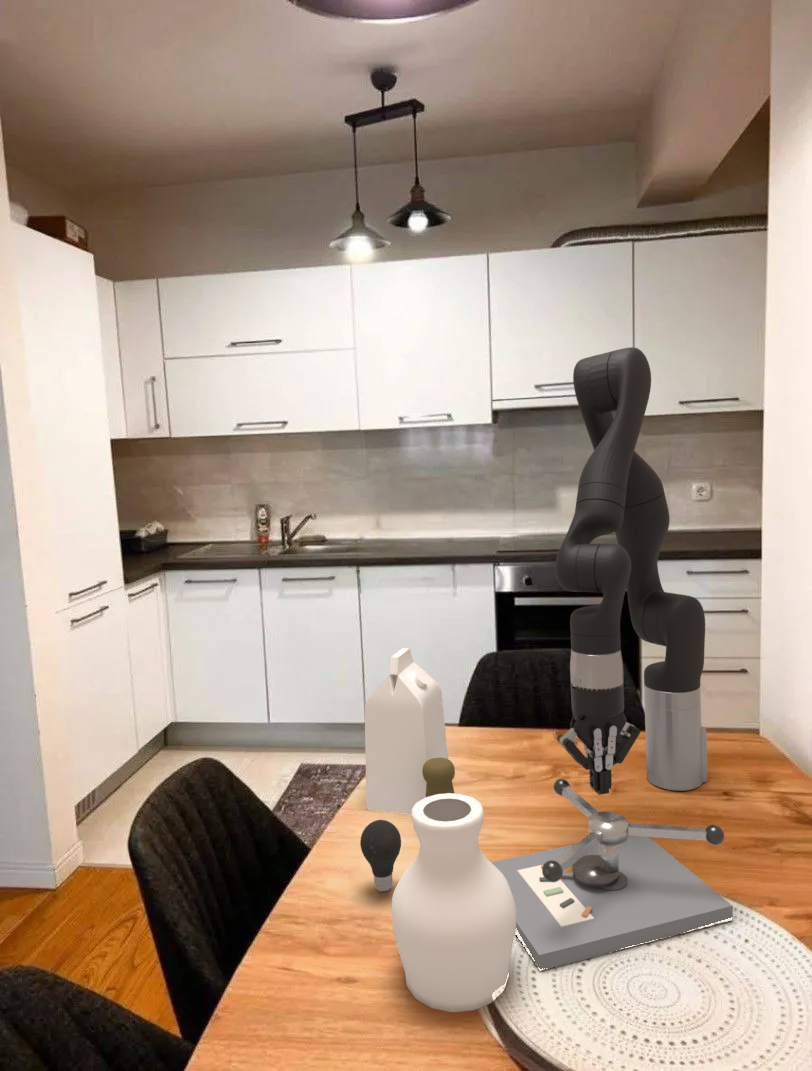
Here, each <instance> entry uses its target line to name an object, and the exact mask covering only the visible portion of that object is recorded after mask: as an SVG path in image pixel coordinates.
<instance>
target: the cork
mask: <svg viewBox="0 0 812 1071" xmlns="http://www.w3.org/2000/svg"><path fill="white" fill-rule="evenodd" d="M455 770H456V768H455V765H454V763H453V762H452V761H451V760H450V759H449V758H448V759H446V758H432V759H430V760H428V761H426V762H425V764H424V765H423V769H422V773H423V777H424V779H425V781H426V782H427V783H426V797H429V796H433V795H436V794H447V793H453V794H455V790H454V784H453V780H454V778H455V773H456V771H455Z"/></svg>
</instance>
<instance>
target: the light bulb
mask: <svg viewBox="0 0 812 1071" xmlns="http://www.w3.org/2000/svg"><path fill="white" fill-rule="evenodd" d="M359 842H360V849H361V850H360V851H361V852H362V855H363V857H364V858H365V859H366V861H367V862H368V864H369V865H370V868H371V872H372V875H373V877H374V878H373V881H374V886H375V889H376V890H378V891H380V892H381V893H385V894H386V893H388V892H389V890H390V889H391V888H393V880H394V879H393V872H394V865H395V862H396V860H397V858H398V857H399V854H400V851H401V847H402V838H401V834H400V831H399V829H398V828H397V827H396V826H395V824H394V823H392V822H390V821H388V820H386V819H376V820H373V821H372V822H369V824H367V825H366V827H365V828H364V829H363V830H362V833H361V836H360V841H359Z"/></svg>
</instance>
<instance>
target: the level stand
mask: <svg viewBox="0 0 812 1071" xmlns="http://www.w3.org/2000/svg"><path fill="white" fill-rule="evenodd" d="M576 844H577V843H575V844H569V845H566V846H560V847H555V848H552V849H551V848H550V849H546V850H542V851H537V852H532V853H529V854H523V855H518V856H514V857H510V858H505V859H504V858H503V859H501V860H500V859H499V860H495V861H490V862H491V863H492V864H493V865H494V866H495V867H496V868H497V869H498V870H499V871H500V872H501V873H502V874H503V875H504V877H505V878H506V880H507V882H508V884H509V887H510V890H511V893H512V896H513V899H514V901H515V906H516V917H517V919H516V928H517V930H518V932H519V934H520V936H521V937H522V939H523V941H524V943H525V944H526V946H527V948H528V949H529V951H530V953H531V954H532V957H533V958H534V960H535V962H536V964H537V965H538V967H539V968H540V969H542V968H543V969H544V968H545V969H546V968H551V969H554V968H553V967H555V968H558V967H562V966H565V965H569V964H573V963H577V962H582V961H585V960H588V959H589V960H590V959H592V958H597V957H599V956H605V955H607V954H606V953H608V954H611V953H610V952H612V953H615V952H614V951H616V950H619V949H621V948H625V947H628V946H632V945H637V944H640V943H645V942H649V941H652V940H656V939H660V938H665V937H669V936H673V937H675V936H674V935H677V934H680V933H683V932H687V931H689V930H692V929H695V928H698V927H701V926H705V925H709V924H711V923H715V922H718V921H721V920H725V919H728V918H731V917H733V916H734V914H733V912H734V911H733V904H731V903H730V902H729V901H727V900H726V899H725V898H724V897H723V896H721V895H720V894H719V893H718V892H717V891H716V890H714V889H713V888H712V887H711V886H710V885H708V884H707V883H705V882H704V881H703V880H702V879H701V878H700V877H698V876H697V875H696V874H695V873H694V872H693V871H691V870H690V869H689V868H687V867H686V866H685V865H683V864H682V862H680V861H679V860H678V859H677V858H675V857H674V856H673V855H672V854H670V853H669V852H668V851H666V849H664V848H663V847H662V846H661V845H659V844H658V843H657V842H656V841H654V840H653V839H652V837H645V836H630V835H628V839H627V841H625V842H624V843H622V844H618V854H619V880H618V881H617V882H616V883H615V884H613V885H611V886H607V887H591V886H587V885H584V884H582V883H580V882H578V881H577V880H576V879H575V878H574V876H573V873H568V872H563V874H562V877H561V879H560V880H559V881H557V882H549V881H547V880H546V879H545V878H544V876H543V873H542V867H543V865H544V863H546V862H547V861H550V860H554V861H555V860H556V859H557V858H558V857H560V856H561V855H562V854H564V853H565V852H566V851H568V850H569V849H570V848H572V847H573V846H574V845H576ZM586 855H599V856H600V849H599V844H598V845H597V846H595V847H594V848H593V849H591V850H590V851H589V852H588V853H586V854H585V855H584V856H586ZM677 936H678V935H677ZM669 938H670V937H669ZM616 952H617V951H616Z"/></svg>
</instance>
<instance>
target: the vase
mask: <svg viewBox="0 0 812 1071" xmlns="http://www.w3.org/2000/svg"><path fill="white" fill-rule="evenodd" d="M484 813H485V812H484V809H483V805H482V803H481V802H480V801H478V800H477V799H476V798H474V797H472V796H468V795H466V794H462V793H461V794H460V793H454V794H453V793H447V794H436V795H433V796H429V797H426V798H424V799H422V800H420V801H419V802H417V803H416V804H415V805H414V807H413V808H412V815H411V821H412V826H413V829H414V832H415V833H416V836H417V838H418V841H419V850H418V851H419V852H418V855H417V856H416V858H415V860H414V861H412V863H411V864H410V865H408V867H407V869H405V871H404V872H403V874H402V875H401V878H400V879H399V881H398V883H397V885H396V887H395V888H394V890H393V894H392V898H391V920H392V923H391V924H392V932H393V937H394V941H395V944H396V947H397V951H398V953H399V957H400V961H401V964H402V967H403V970H404V976H405V983H406V988H407V989H409V991H410V993H411V994H412V995H413V997H414V998H415V999H416V1000H418V1001H419V1002H420V1003H422V1004H424V1005H425V1006H427V1007H430V1008H431V1009H433V1010H439V1011H443V1012H449V1013H461V1012H471V1011H477V1010H478V1009H481V1008H483V1007H485V1006H488V1005H489V1004H493V1002H492V994H493V992H495V990H497V989H498V988H499V987H501V986H502V985H504V984H505V982H506V979H507V975H508V973H509V974H510V964H511V963H510V962H511V956H512V955H511V954H512V949H513V944H514V940H515V936H516V935H515V929H516V919H517V917H516V906H515V901H514V899H513V896H512V893H511V890H510V887H509V884H508V882H507V880H506V878H505V877H504V875H503V874H502V873H501V872H500V871H499V870H498V869H497V868H496V867H495V866H494V865H493V864H492V863H491V862H492V861H490V860H489V859H488V858H487V857H486V856H485V854H484V853H483V852H482V850H481V848H480V845H479V838H480V834H481V830H482V827H483V824H484V817H485V816H484Z"/></svg>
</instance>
